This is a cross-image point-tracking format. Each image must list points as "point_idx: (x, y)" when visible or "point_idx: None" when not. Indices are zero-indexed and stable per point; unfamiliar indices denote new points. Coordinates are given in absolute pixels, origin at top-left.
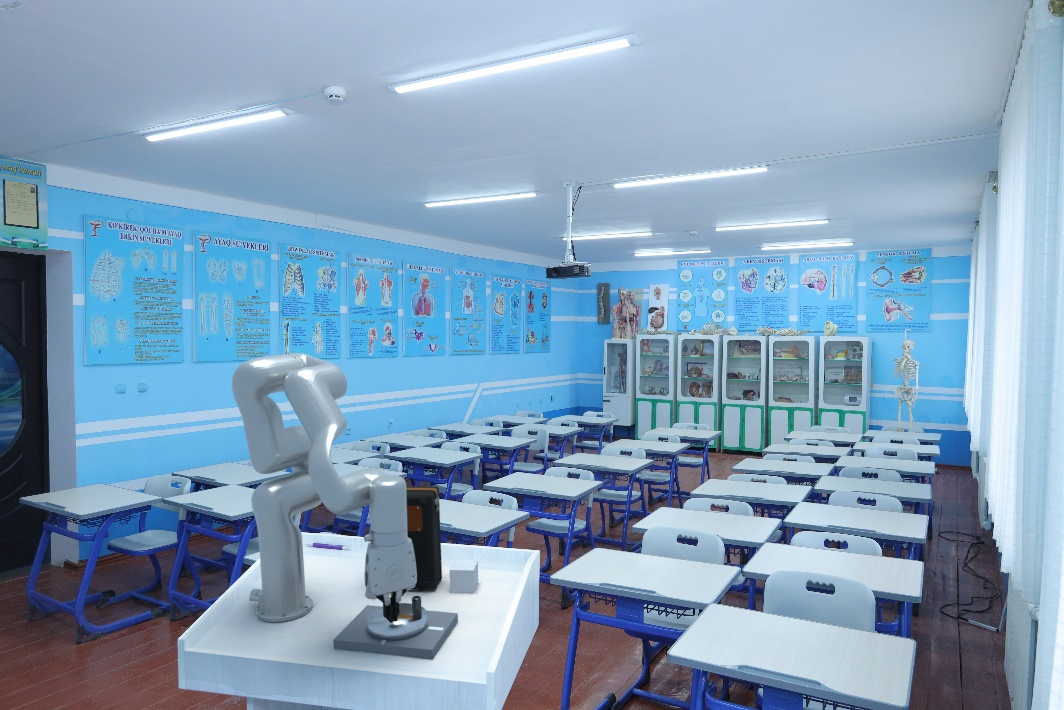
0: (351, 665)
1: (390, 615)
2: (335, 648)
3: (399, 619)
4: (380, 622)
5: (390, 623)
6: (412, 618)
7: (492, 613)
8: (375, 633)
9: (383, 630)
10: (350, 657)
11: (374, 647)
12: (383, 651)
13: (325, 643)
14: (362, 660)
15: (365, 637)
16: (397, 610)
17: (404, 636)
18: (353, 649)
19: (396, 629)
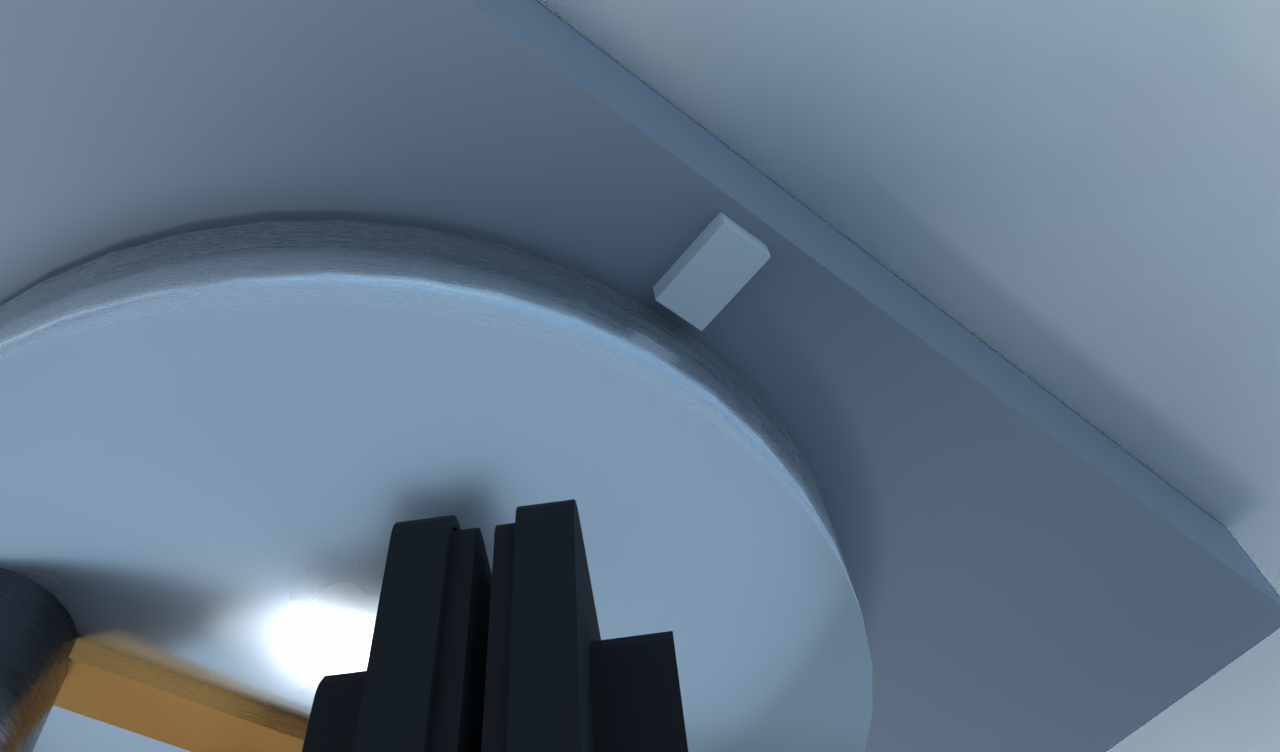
0: (1258, 31)
1: (577, 625)
2: (1215, 524)
3: None
4: None
5: None
6: (77, 638)
7: None
8: (805, 487)
9: (698, 453)
10: (1160, 258)
11: (846, 265)
12: (720, 152)
13: (1238, 659)
14: (1058, 101)
15: (907, 520)
16: (358, 720)
17: (316, 240)
18: (1063, 406)
19: (449, 393)
